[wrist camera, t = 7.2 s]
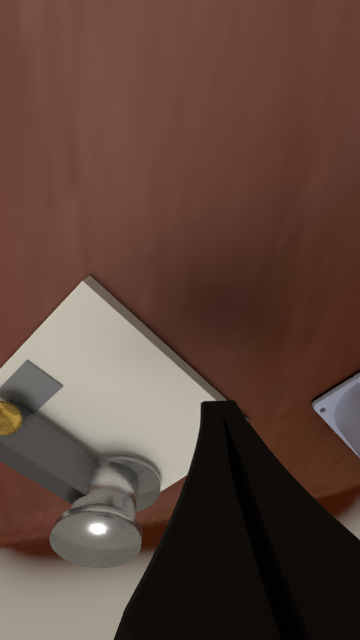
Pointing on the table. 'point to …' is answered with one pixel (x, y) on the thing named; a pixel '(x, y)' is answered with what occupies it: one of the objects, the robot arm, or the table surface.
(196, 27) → the table surface
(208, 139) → the table surface
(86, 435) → the stand
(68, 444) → the capstan
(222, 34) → the table surface
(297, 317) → the table surface
